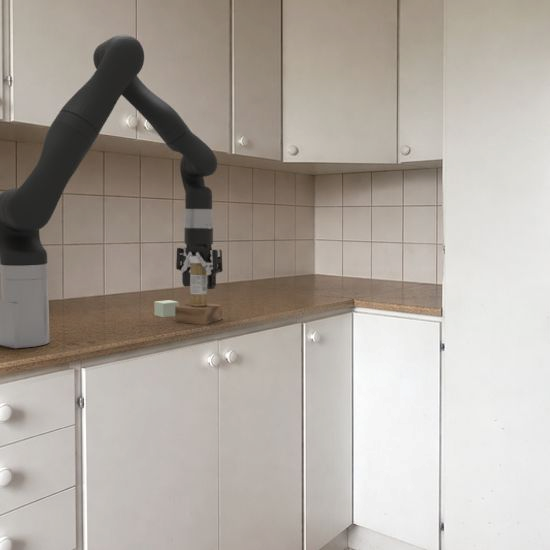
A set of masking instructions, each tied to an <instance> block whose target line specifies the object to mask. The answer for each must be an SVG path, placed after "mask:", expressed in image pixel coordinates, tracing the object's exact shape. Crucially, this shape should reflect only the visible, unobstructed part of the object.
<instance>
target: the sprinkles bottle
mask: <svg viewBox="0 0 550 550" xmlns="http://www.w3.org/2000/svg"><path fill="white" fill-rule="evenodd" d="M190 263H191V264H190V265H191V271H190V286H189V287H190V288H189V289H190V303H189V304H190V305H191V306H195V307H203V306H206V305H207V304H208V301H207V297H208V296H207V294H208V288H207V275H208V273H207V271H206V269H205V268H203V266H202V264H201V263H200V261H199V259H198V258H197V256H190Z"/></svg>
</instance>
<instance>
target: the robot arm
mask: <svg viewBox="0 0 550 550" xmlns="http://www.w3.org/2000/svg"><path fill="white" fill-rule="evenodd" d="M144 63H145V51H144V48H143V46H142V44H141V42H140V41H139V40H138V39H137V38H136V37H134V36H132V35H129V34H121V35H116V36H112V37H110V38H109V39H107V40H105V41H104V42H102V43H100V44H99V45H98V46H96V48H95V50H94V51H93V64H94V67H95V69H96V70H95V72H94V73H93V74H92V76H90V78H89V80H88V81H86V82H85V83H84V84H83V86H81V87H80V89H78V90H77V92H75V94H74V95H73V96H72V97H70V98H69V100H67V102H66V103H65V104H64V105H63V106H62V108H61V109H60V110H59V112H58V114H57V115H56V117H55V119H54V120H53V121H52V123H51V124H50V127H49V128H48V131H47V133H46V134H45V138H44V142H43V145H42V150H41V153H40V156H39V160H38V162H37V164H36V166H35V167H34V168H33V169H32V171H31V173H30V174H29V175H28V176H27V178H26V179H25V181H24V182H23V183H21V185H20V186H19V187H15V188H14V187H13V188H10V189H7V190H4V191H3V192H1V194H0V293H1V299H0V346H2V347H6V348H11V349H20V348H31V347H32V348H34V347H39V346H43V345H47V344H49V343H50V316H49V315H50V312H49V283H48V282H49V279H48V277H49V276H48V275H49V274H48V272H49V271H48V252H47V250H46V249H45V247H44V246H43V244H42V242H41V238H40V235H41V234H40V230H41V229H43V228H44V227H46V225H48V223H49V222H50V220H51V218H52V216H53V214H54V212H55V210H56V208H57V206H58V203H59V201H60V199H61V197H62V195H63V193H64V191H65V189H66V187H67V185H68V183H69V181H70V180H71V178H72V177H73V175H74V174H75V173H76V171H77V169H78V168H79V166H80V165H81V163H82V162H83V160H84V159H85V157H86V155H87V154H88V152H89V151H90V149H91V148H92V146H93V145H94V144H95V141H96V139H97V138H98V136H99V134H100V133H101V131H102V129H103V127H104V126H105V124H106V122H107V121H108V120H109V119H108V118H109V117H110V115H111V114H112V112H113V110H114V108H115V106H116V105H117V102H118V100H120V97H123V98H125V100H126V101H128V102H129V104H130V105H132V107H133V108H134V109H135V110H137V111H138V113H139V114H140V115H141V116H142V117H143V118H144V119H145V120H146V121H147V122H148V123H149V125H150V126H151V127H152V128H153V130H154V131H155V132H156V133H157V134H158V136H159V137H160V138H161V140H163V142H164V144H166V146H167V147H168V148H169V150H171V151H173V152H176V153H180V154H181V155H182V156H181V159H180V163H179V172H180V176H181V182H182V186H183V189H184V193H185V194H184V195H185V197H184V198H185V201H184V204H185V208H184V210H185V211H184V219H183V221H184V228H183V229H184V234H183V235H184V244H185V245H186V246H185V247H177V249H176V261H175V262H176V263H175V264H176V266H175V267H176V268H175V269H176V270H177V271H180V272H181V274H182V275H181V276H182V277H181V278H182V286H183V287H188V288H189V287H190V273H191V265H190V264H191V263H190V256H197V258H198V259H199V261H200V263H201V264H202V266H203V268H205V269H206V271H207V290H213V289H214V290H215V288H216V286H217V275H218V273H222V272H223V254H222V253H223V251H222V249H213V248H212V245H213V244H214V215H213V191H212V190H211V188H210V187H208V186H206V184H205V178H204V177H209V176H211V175H213V174H215V172H216V171H217V167H218V159H217V156H216V154H215V153H214V151H213V150H212V149H211V148H210V146H208V145H207V143H205V142H204V141H203V140H202V139H201V138H200V137H199V136H197V135H196V134H194V132H193V131H191V129H190V128H189V127H188V125H187V123H185V121H184V120H183V118H182V117H181V116H180V114H179V113H178V112H177V111H176V110H175V109H174V107H172V106H171V105H170V104H169V103H167V102H166V101H164V100H163V99H161V97H159V96H158V95H156V94H155V93H154V92H153V91H151V90H150V89H149V88H148V87H147V86H146V85H145V84H144V83H143V82H142V80H141V79H140V78H139V77H138V75H139V74H140V72H141V70H142V69H143V67H144Z"/></svg>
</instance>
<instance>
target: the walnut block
mask: <svg viewBox="0 0 550 550" xmlns="http://www.w3.org/2000/svg"><path fill="white" fill-rule="evenodd" d="M174 317H175V318H174V319H175V320H174V321H175V323H184V324H192V325H193V324H194V325H203V326H204V325H208V324H212V323H216V322H218V320H219V321H221V319H222V320H223V304H216V303H207V305H206V306H203V307H195V306H191V305H190V303H186V304H182V305H179V306H177V307H175V316H174Z"/></svg>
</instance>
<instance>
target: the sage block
mask: <svg viewBox="0 0 550 550" xmlns="http://www.w3.org/2000/svg"><path fill="white" fill-rule="evenodd" d="M153 304H154V305H153V307H154V316H155V317H160V318H170V317H175V307H177V306H180V302H179V301H176V300H171V299H168V300H165V299H164V300H158V301H157V300H156V301H154V303H153Z"/></svg>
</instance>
